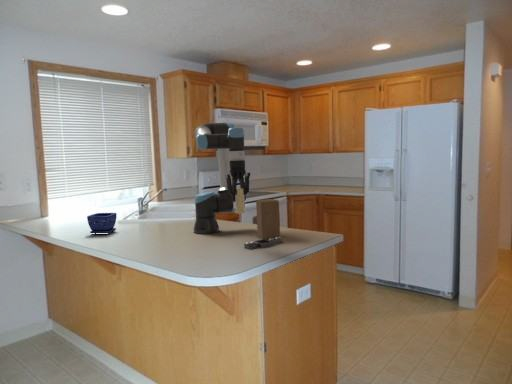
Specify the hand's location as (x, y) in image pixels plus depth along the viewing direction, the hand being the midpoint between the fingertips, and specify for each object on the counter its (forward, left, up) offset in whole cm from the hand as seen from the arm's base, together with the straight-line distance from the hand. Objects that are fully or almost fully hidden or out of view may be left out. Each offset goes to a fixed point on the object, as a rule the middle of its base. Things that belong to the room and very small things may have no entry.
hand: (239, 207), depth 190 cm
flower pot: (-87, -45, -19) cm, 99 cm away
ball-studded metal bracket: (+7, +8, -19) cm, 22 cm away
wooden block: (-6, +22, -19) cm, 30 cm away
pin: (0, 0, -3) cm, 3 cm away
